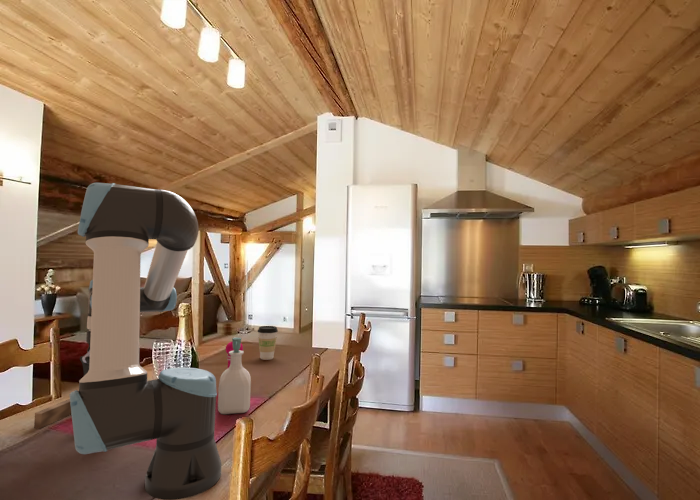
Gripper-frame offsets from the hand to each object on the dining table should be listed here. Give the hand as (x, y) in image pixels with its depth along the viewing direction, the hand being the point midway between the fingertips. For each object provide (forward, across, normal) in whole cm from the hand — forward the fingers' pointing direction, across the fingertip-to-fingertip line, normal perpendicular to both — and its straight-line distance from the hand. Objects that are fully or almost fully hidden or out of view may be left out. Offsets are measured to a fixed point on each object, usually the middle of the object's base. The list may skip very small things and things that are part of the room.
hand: (97, 406), depth 115 cm
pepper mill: (+2, +24, -32) cm, 41 cm away
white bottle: (+2, +10, -39) cm, 41 cm away
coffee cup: (+2, +73, -28) cm, 78 cm away
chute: (+2, -3, 0) cm, 4 cm away
